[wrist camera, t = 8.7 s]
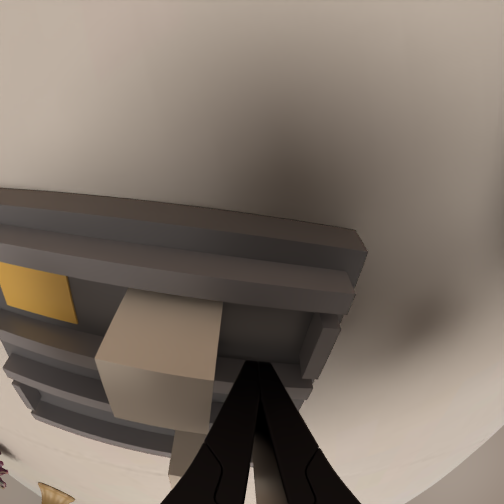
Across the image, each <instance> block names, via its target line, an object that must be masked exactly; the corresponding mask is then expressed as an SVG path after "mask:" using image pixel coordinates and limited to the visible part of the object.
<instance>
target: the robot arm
mask: <svg viewBox="0 0 504 504" xmlns="http://www.w3.org/2000/svg"><path fill="white" fill-rule="evenodd" d="M252 455H253V468H254V479H255V491H256V503H257V504H361V503H360V502H359V501H358V499H357V498H356V497H355V496H354V495H353V493H352V492H351V491H350V490H349V489H348V487H347V486H346V485H345V484H344V483H343V481H342V480H341V479H340V477H339V476H338V475H337V473H336V472H335V471H334V469H333V468H332V466H331V465H330V463H329V462H328V460H327V459H326V457H325V455H324V454H323V452H322V450H321V449H320V448H319V446H318V444H317V442H316V440H315V439H314V437H313V435H312V434H311V432H310V430H309V429H308V427H307V425H306V423H305V422H304V420H303V418H302V417H301V415H300V413H299V411H298V410H297V408H296V406H295V404H294V403H293V401H292V399H291V397H290V396H289V394H288V392H287V390H286V389H285V387H284V385H283V383H282V381H281V380H280V378H279V376H278V374H277V373H276V371H275V369H274V367H273V365H272V364H271V363H270V362H265V361H254V360H245V362H244V363H243V366H242V368H241V370H240V372H239V374H238V376H237V378H236V380H235V382H234V384H233V386H232V388H231V390H230V392H229V394H228V396H227V398H226V400H225V401H224V403H223V405H222V407H221V409H220V411H219V413H218V415H217V417H216V419H215V421H214V423H213V425H212V427H211V429H210V431H209V432H208V434H207V436H206V438H205V440H204V443H203V444H202V445H201V447H200V449H199V451H198V453H197V455H196V456H195V458H194V460H193V461H192V463H191V465H190V466H189V468H188V469H187V470H186V472H185V473H184V475H183V476H182V477H181V479H180V480H179V481H178V483H177V484H176V485H175V486H174V488H173V489H172V490H171V491H170V493H169V494H168V495H167V496H166V498H165V499H164V500H163V501H162V502H161V504H244V501H245V495H246V488H247V482H248V476H249V470H250V463H251V457H252Z"/></svg>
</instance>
